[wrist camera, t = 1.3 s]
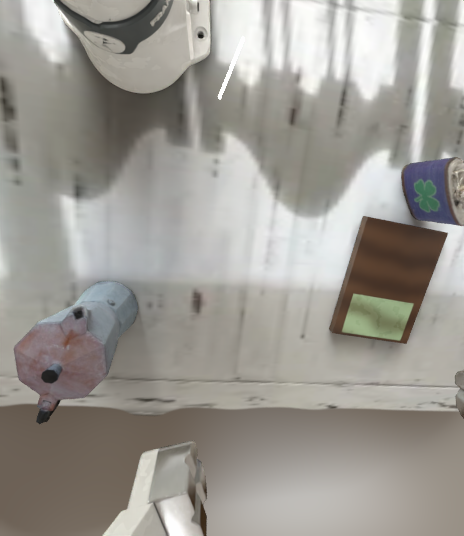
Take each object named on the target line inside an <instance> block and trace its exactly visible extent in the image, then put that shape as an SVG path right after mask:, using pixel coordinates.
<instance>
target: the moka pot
mask: <svg viewBox="0 0 464 536" xmlns="http://www.w3.org/2000/svg"><path fill="white" fill-rule="evenodd" d="M137 311H138V305H137V302H136V299H135V296H134V294H133V293H132V291H130V290H129V289H128V288H127V287H125V286H124V285H122V284H120V283H118V282H114V281H103V282H97V283H96V284H94V285H92V286H91V287H89V288H88V289H87V290H85V291H84V292H83V294H82V295H81V296H80V298H79V299H78V301H77V302H76V304H75V305H74V306H70V307H68V308H66V309H64V310H62V311H60V312H58V313H56V314H54V315H52V316H50V317H48V318H46V319H43V320H41V321H39V322H38V323H37V324H36V325H35V326H34V327H33V328H32V329H31V330H30V331H29V332H28V333H27V334H26V335H25V336H24V337H23V338H22V339H21V340H20V341H19V342H18V343H17V344H16V345H15V347H14V354H15V360H16V367H17V373H18V378H19V380H20V381H21V382H22V383H24V384H25V385H27V386H28V387H30V388H31V389H32V390H34V391H36V392H37V393H38V394H39V395H40V398H39V401H38V405H37V407H39V408H40V411H39V413H38V416H37V422H38V423H39V424H41V423H43V422H47V421H48V420H49V418H50V416H51V415H52V413H53V412H54V410H55V409H56V407H57V406H58V405H59V403H60V401H61V400H62V399H76V398H85V397H86V396H87V395H88V394H89V393H90V392H91V391H92V390H93V389H94V388H95V387H96V386H97V385H98V384H99V383H100V382H101V381H102V380H103V379H104V378H105V377H106V376H107V375H108V372H109V369H110V366H111V362H112V359H113V356H114V353H115V349H116V346H117V343H118V338H119V337H120V336H121V335H122V334H123V333H124V332H125V331H126V330H127V329H128V328H129V327H130V326H131V325H132V324H133V323H134V320H135V318H136V314H137Z"/></svg>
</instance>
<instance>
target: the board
mask: <svg viewBox="0 0 464 536" xmlns="http://www.w3.org/2000/svg"><path fill="white" fill-rule="evenodd" d="M447 234H448V233H445V232H440V231H435V230H431V229H426V228H421V227H416V226H411V225H406V224H401V223H396V222H391V221H386V220H381V219H376V218H371V217H366V216H363V218H362V221H361V225H360V228H359V231H358V235H357V238H356V241H355V245H354V248H353V251H352V255H351V258H350V261H349V265H348V268H347V271H346V275H345V278H344V281H343V285H342V288H341V292H340V295H339V298H338V302H337V305H336V308H335V312H334V315H333V318H332V322H331V325H330V328H329V329H330V331H331V332H332V333H336V334H343V335H350V336H356V337H363V338H370V339H377V340H384V341H391V342H397V343H404V344H407V341H408V338H409V336H410V333H411V330H412V328H413V325H414V322H415V320H416V317H417V314H418V312H419V309H420V306H421V304H422V301H423V298H424V296H425V293H426V290H427V288H428V285H429V282H430V280H431V277H432V274H433V272H434V269H435V266H436V264H437V261H438V258H439V256H440V253H441V250H442V248H443V245H444V242H445V240H446V237H447Z"/></svg>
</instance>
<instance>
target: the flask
mask: <svg viewBox="0 0 464 536" xmlns="http://www.w3.org/2000/svg"><path fill="white" fill-rule="evenodd" d="M401 178H402V186H403V192H404V196H405V198H406V201H407V204H408V207H409V209H410V212H411V214H412V216H413V217H414V218H415V219H417V220H420V221H421V220H422V221H432V222H437V223H445V224H453V225H460V226H464V161H462V160H461V159H460V158H458V157H454V158H449V159H448V158H447V159H441V160H434V161H425V162H418V163H410V164H409V165H406V166H405V167H404V168H403V170H402V175H401Z"/></svg>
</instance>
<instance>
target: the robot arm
mask: <svg viewBox="0 0 464 536" xmlns="http://www.w3.org/2000/svg"><path fill="white" fill-rule="evenodd" d="M52 1H53V2H54V3H55V4H56V6H57V7H58V10H59V14H60V16H61V17H62V19H63V21H64V22H65V23H66V25H67V26H68V27H69V28H70V29H71V30H72V31H73V32H74V33H75V34H76V35H77V36H78V37H79V39H80V41H81V42H82V44H83V46H84V48H85V50H86V52H87V54H88V56H89V58H90V60H91V62H92V63H93V65H94V66H95V67H96V69H97V70H98V71H99V72H100V73H101V74H102V75H103V76H104V77H105V78H106V79H107V80H108V81H110V82H111V83H112V84H114V85H116V86H118V87H119V88H122V89H124V90H127V91H130V92H134V93H153V92H157V91H160V90H162V89H165V88H167V87H168V86H170V85H171V84H173V83H174V82H175V81H176V80H177V79H178V78H179V77H180V76H181V75H182V74H183V73H184V71H185V70H186V69H187V68H188V67H189V66H191V65H193V64H195V63H198V62H200V61H202V60H204V59H205V58H206V57H207V56H208V55H209V54H210V50H211V35H210V0H52ZM199 34H203V35H204V38H203V39H199V38H198V35H199ZM244 38H245V37H243V36H242V38H241V41H240V43H239V46H238V48H237V51H236V53H235V56H234V58H233V61H232V63H231V66H230V68H229V71H228V73H227V76H226V78H225V81H224V83H223V86H222V88H221V91H220V93H219V96H218V99H221V97H222V94H223V92H224V89H225V87H226V84H227V82H228V79H229V77H230V74H231V72H232V69H233V67H234V64H235V62H236V59H237V57H238V54H239V52H240V49H241V47H242V44H243V42H244ZM455 384H456V385H457V386H458V387H459V388H460V389H459V391H458V392H457V394H456V406H457V408H458V410H459V412H460V414H461V416H462V417H463V418H464V370H463V371H459V372H457V374H456V375H455ZM206 499H207V489H206V479H205V473H204V469H203V465H202V462H201V461H200V460H198V459H197V448H196V445H195V442H194V441H188V442H183V443H179V444H175V445H170V446H166V447H161V448H159V449H155V450H151V451H146V452H144V453H143V454H142V455H141V457H140V461H139V465H138V469H137V473H136V476H135V480H134V484H133V488H132V492H131V496H130V500H129V503H128V507H127V510H123V511H121V512H120V514H119V515H118V516H117V518H116V519H115V520H114V521H113V523H112V524H111V525H110V527H109V528H108V529H107V531H106V532H105V533H104V534H103V536H206V519H207V516H206V513H205V510H204V507H203V504H204V502H205V501H206Z"/></svg>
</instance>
